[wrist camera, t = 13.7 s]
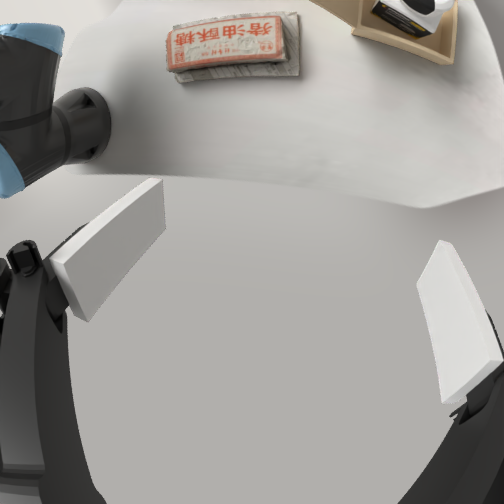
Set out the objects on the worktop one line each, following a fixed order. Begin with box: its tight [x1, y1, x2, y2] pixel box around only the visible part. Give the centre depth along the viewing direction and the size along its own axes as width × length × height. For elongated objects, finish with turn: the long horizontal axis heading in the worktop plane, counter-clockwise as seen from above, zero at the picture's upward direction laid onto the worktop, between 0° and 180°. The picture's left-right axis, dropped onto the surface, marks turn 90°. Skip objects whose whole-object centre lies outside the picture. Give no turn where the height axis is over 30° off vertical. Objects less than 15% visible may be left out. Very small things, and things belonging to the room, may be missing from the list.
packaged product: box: [166, 12, 300, 83], centre depth 28 cm, size 18×5×10 cm
